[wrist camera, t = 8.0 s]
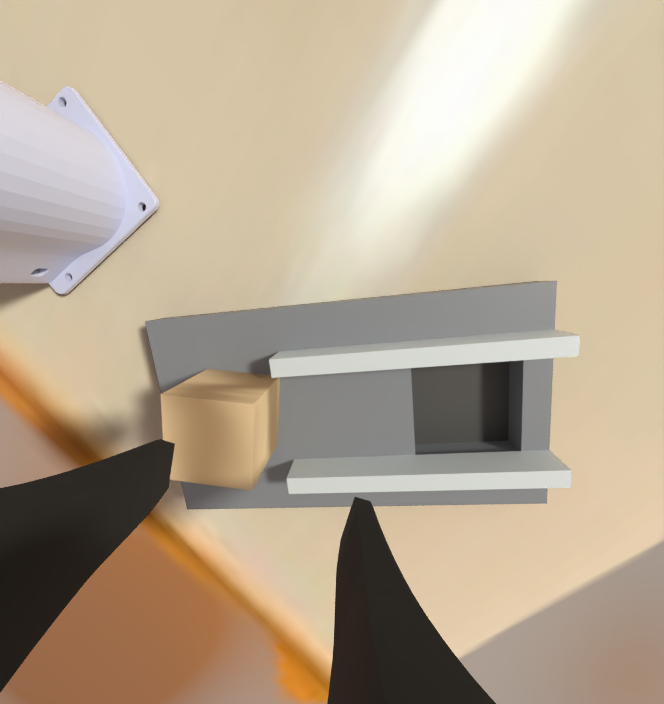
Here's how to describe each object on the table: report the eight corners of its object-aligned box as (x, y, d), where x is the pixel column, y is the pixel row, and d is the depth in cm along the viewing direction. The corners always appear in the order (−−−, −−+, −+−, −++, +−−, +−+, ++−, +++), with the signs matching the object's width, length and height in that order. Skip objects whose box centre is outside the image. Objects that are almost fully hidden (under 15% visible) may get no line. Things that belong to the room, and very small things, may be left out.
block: (279, 375, 19) (253, 404, 14) (277, 444, 20) (252, 490, 15) (207, 368, 19) (160, 394, 15) (209, 436, 20) (165, 478, 16)
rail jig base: (535, 281, 18) (583, 280, 14) (529, 482, 20) (568, 529, 17) (165, 317, 21) (119, 325, 17) (202, 490, 23) (169, 532, 19)
